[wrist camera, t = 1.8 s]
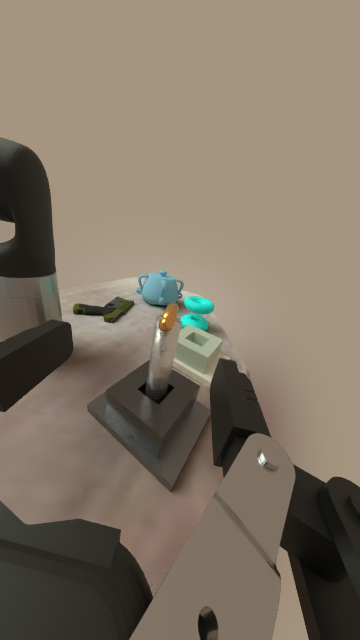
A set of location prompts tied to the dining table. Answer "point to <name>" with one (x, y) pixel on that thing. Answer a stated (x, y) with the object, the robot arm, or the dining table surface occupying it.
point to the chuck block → (153, 421)
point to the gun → (105, 309)
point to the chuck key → (163, 353)
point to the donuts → (199, 307)
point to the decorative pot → (159, 288)
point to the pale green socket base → (198, 354)
